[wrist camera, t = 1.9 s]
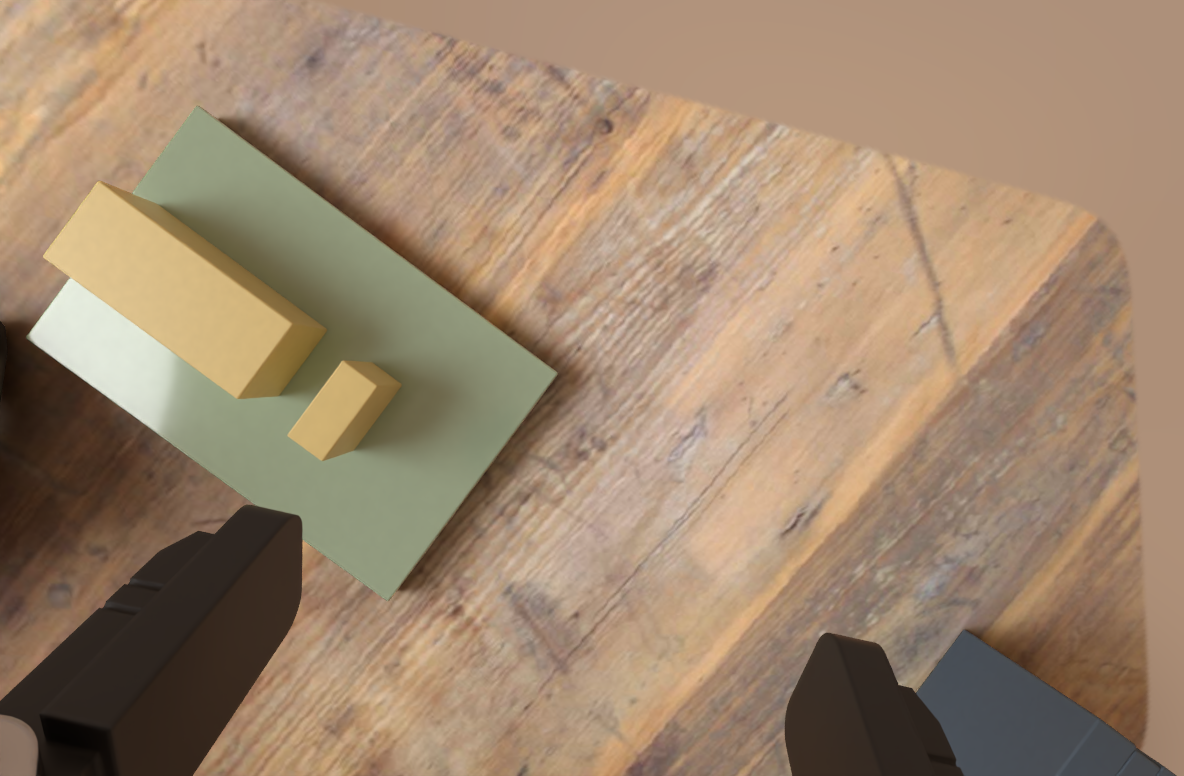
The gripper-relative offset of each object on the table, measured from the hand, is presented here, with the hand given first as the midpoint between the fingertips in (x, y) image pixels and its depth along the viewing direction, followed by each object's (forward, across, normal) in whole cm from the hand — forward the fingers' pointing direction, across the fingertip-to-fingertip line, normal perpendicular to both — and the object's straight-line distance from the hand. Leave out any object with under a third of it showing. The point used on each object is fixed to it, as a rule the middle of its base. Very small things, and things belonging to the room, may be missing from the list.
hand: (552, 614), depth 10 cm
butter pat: (+14, +8, +6) cm, 17 cm away
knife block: (+12, -18, +13) cm, 25 cm away
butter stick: (+15, +15, +3) cm, 21 cm away
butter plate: (+16, +11, +5) cm, 20 cm away
